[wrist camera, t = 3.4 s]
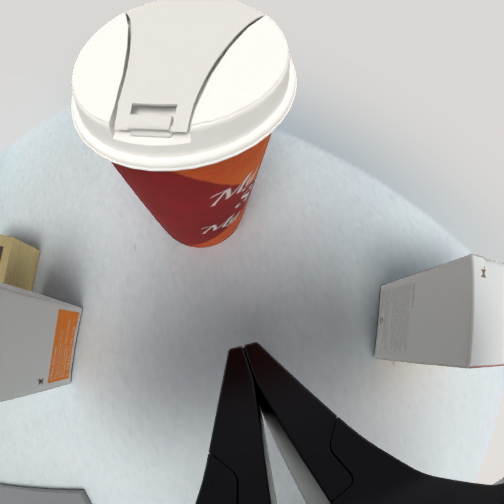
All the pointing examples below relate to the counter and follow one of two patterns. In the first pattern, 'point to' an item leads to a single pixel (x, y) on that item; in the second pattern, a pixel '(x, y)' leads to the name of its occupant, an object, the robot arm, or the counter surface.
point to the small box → (445, 315)
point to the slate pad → (41, 496)
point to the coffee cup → (185, 107)
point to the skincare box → (35, 342)
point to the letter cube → (17, 262)
